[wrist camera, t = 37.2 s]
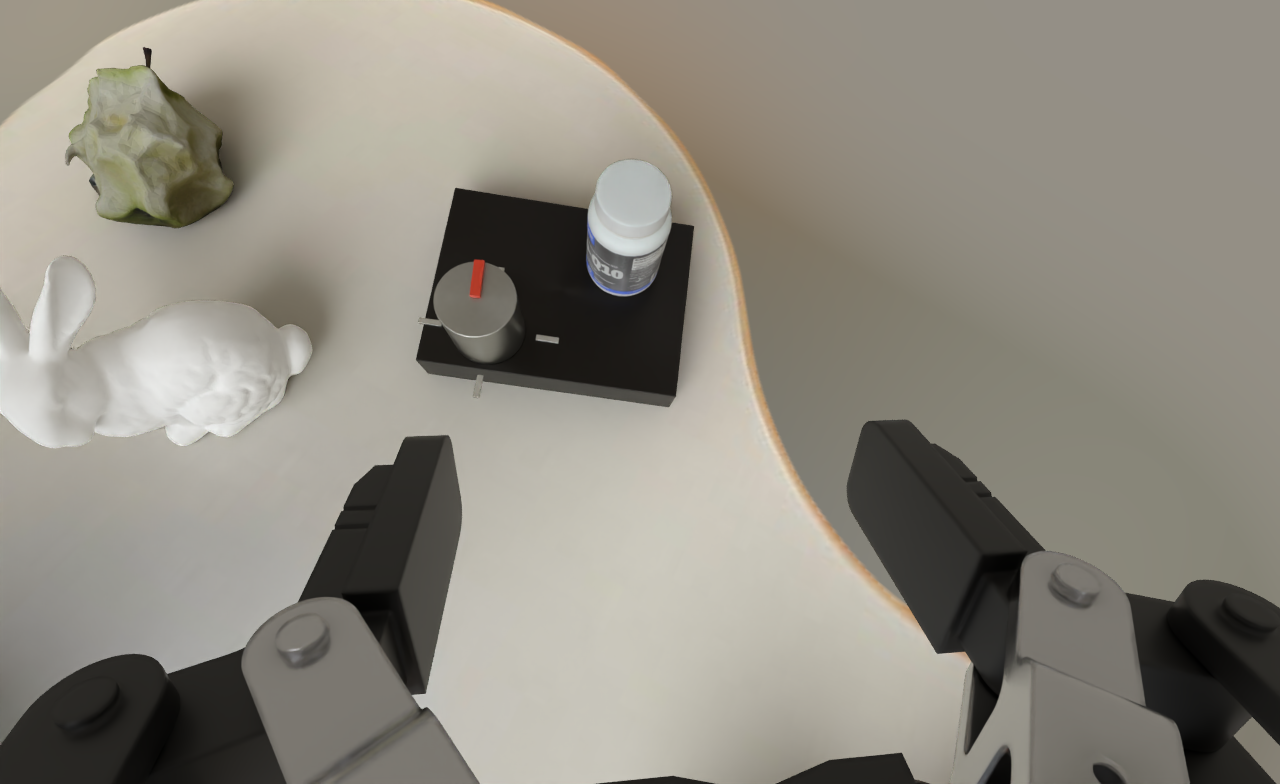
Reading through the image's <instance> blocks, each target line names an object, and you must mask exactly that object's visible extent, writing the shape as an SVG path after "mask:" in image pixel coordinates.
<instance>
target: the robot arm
mask: <svg viewBox="0 0 1280 784" xmlns="http://www.w3.org/2000/svg"><path fill="white" fill-rule="evenodd" d="M847 498H848V503H849V507H850V509H851V512H852V514H853V515H854V517H855V519H856V520H857V522H858V524H859V525H860V527H861V529H862V530H863V532H864V534H865V535H866V537H867V538H868V540H869V542H870V543H871V545H872V547H873V548H874V550H875V552H876V553H877V555H878V557H879V558H880V560H881V562H882V563H883V565H884V567H885V568H886V570H887V572H888V573H889V575H890V577H891V578H892V580H893V582H894V583H895V585H896V587H897V588H898V590H899V592H900V593H901V595H902V596H903V598H904V600H905V601H906V603H907V605H908V606H909V608H910V610H911V611H912V613H913V615H914V616H915V618H916V620H917V621H918V623H919V625H920V626H921V628H922V630H923V631H924V633H925V635H926V636H927V638H928V640H929V641H930V643H931V645H932V646H933V648H934V649H935V651H936V653H937V654H941V653H953V652H966V654H967V655H968V657H969V658H970V660H971V663H970V665H969V667H968V669H967V671H966V675H965V682H964V689H963V697H962V705H961V712H960V720H959V727H958V735H957V743H956V750H955V758H954V765H953V770H952V774H951V778H950V781H949V784H1276V783H1275V782H1274V781H1273V780H1272V779H1271V777H1270V776H1269V775H1268V774H1267V773H1266V772H1265V771H1264V770H1263V769H1262V768H1261V766H1260V765H1259V764H1258V763H1257V762H1256V761H1255V760H1254V759H1253V758H1252V756H1251V755H1250V754H1249V753H1248V752H1247V751H1246V750H1245V749H1244V748H1243V746H1242V745H1241V744H1240V743H1239V742H1238V741H1237V740H1236V739H1235V737H1234V734H1236V732H1237V731H1238V730H1239V729H1240V728H1241V727H1242V726H1243V725H1244V724H1245V723H1246V722H1247V721H1248V720H1249V719H1250V718H1251V717H1253V718H1254V719H1255V720H1256V721H1257V722H1258V723H1259V724H1260V725H1261V726H1262V727H1263V728H1264V729H1265V730H1266V732H1267V733H1268V734H1269V735H1270V736H1271V737H1272V738H1273V739H1274V740H1275V741H1276V742H1277V743H1278V744H1279V745H1280V608H1279V607H1277V606H1276V605H1274V604H1272V603H1271V602H1269V601H1267V600H1266V599H1264V598H1262V597H1260V596H1258V595H1256V594H1254V593H1252V592H1250V591H1247V590H1245V589H1243V588H1240V587H1237V586H1234V585H1231V584H1228V583H1224V582H1220V581H1214V580H1196V581H1194V582H1191V583H1189V584H1188V585H1187V586H1186V587H1185V589H1184V590H1183V591H1182V593H1181V594H1180V595H1179V597H1178V598H1177V599H1176V601H1175V602H1171V601H1166V600H1161V599H1156V598H1150V597H1145V596H1140V595H1134V594H1129V593H1125V592H1124V591H1123V590H1122V589H1121V587H1120V586H1119V585H1118V584H1117V583H1116V582H1115V581H1114V580H1113V579H1111V578H1110V577H1109V576H1108V575H1107V574H1105V573H1104V572H1102V571H1101V570H1100V569H1098V568H1096V567H1095V566H1093V565H1091V564H1089V563H1087V562H1085V561H1083V560H1081V559H1078V558H1076V557H1073V556H1070V555H1067V554H1063V553H1059V552H1052V551H1045V549H1044V548H1043V547H1042V546H1041V545H1040V544H1039V543H1038V542H1037V541H1036V540H1035V539H1034V538H1033V537H1032V536H1031V535H1030V533H1029V532H1028V531H1027V530H1026V529H1025V528H1024V527H1023V526H1022V525H1021V524H1020V523H1019V522H1018V521H1017V520H1016V519H1015V517H1013V515H1012V514H1011V513H1010V512H1009V511H1008V510H1007V509H1006V508H1005V507H1004V506H1003V505H1002V504H1001V503H1000V502H999V500H998V499H996V498H995V497H992V496H991V492H990V491H989V490H988V489H987V488H986V487H985V486H984V485H983V484H982V482H981V481H977V477H976V476H975V475H974V474H973V473H972V472H971V471H970V470H969V469H968V467H966V465H965V464H964V463H963V462H962V461H961V460H960V459H959V458H957V457H955V456H953V455H952V454H951V453H949V452H948V451H946V450H944V449H943V448H941V447H939V446H938V445H936V444H930V442H929V441H928V440H927V439H926V438H925V437H924V436H923V435H922V434H921V432H920V431H919V430H918V429H917V428H916V427H915V426H914V425H913V424H912V423H911V422H910V421H908V420H883V421H868V422H867V423H865V425H864V426H863V428H862V430H861V434H860V437H859V442H858V445H857V448H856V452H855V456H854V460H853V463H852V467H851V471H850V474H849V478H848V482H847ZM461 523H462V504H461V496H460V490H459V484H458V478H457V472H456V466H455V460H454V454H453V448H452V443H451V439H450V437H449V436H448V435H441V436H414V437H405V439H404V440H403V442H402V445H401V447H400V450H399V452H398V454H397V457H396V459H395V462H394V464H393V465H375V466H374V467H373V468H372V469H371V470H370V471H369V472H367V473H366V474H365V475H364V476H363V477H362V478H361V479H360V480H359V481H358V482H357V483H355V484H354V486H353V488H352V490H351V492H350V494H349V496H348V498H347V501H346V503H345V505H344V510H343V511H341V513H340V515H339V517H338V519H337V521H336V524H335V530H332V532H331V534H330V536H329V538H328V540H327V542H326V544H325V547H324V549H323V551H322V553H321V555H320V557H319V559H318V561H317V563H316V565H315V567H314V570H313V572H312V574H311V576H310V578H309V580H308V582H307V584H306V586H305V588H304V591H303V593H302V595H301V597H300V599H299V601H298V603H296V604H293V605H291V606H289V607H287V608H285V609H283V610H281V611H280V612H278V613H276V614H275V615H274V616H272V617H271V618H269V619H268V620H267V621H266V622H265V623H264V624H262V625H261V626H260V627H259V628H258V630H257V631H256V632H255V633H254V634H253V636H252V637H251V638H250V640H249V641H248V643H247V645H246V647H245V648H243V649H241V650H239V651H236V652H233V653H231V654H228V655H225V656H222V657H219V658H216V659H212V660H209V661H206V662H203V663H200V664H197V665H194V666H191V667H188V668H185V669H181V670H178V671H175V672H172V673H169V674H167V673H166V672H165V670H164V669H163V667H162V666H161V664H160V663H159V662H158V661H157V660H155V659H154V658H152V657H149V656H146V655H141V654H125V655H120V656H114V657H111V658H107V659H104V660H101V661H98V662H96V663H93V664H90V665H88V666H86V667H84V668H82V669H80V670H78V671H76V672H74V673H73V674H71V675H69V676H67V677H66V678H64V679H63V680H61V681H60V682H58V683H57V684H55V685H54V686H53V687H51V688H50V689H49V690H48V691H46V692H45V693H44V694H43V695H42V696H40V697H39V698H38V699H37V700H36V701H35V702H34V703H33V704H32V705H31V706H30V707H29V708H28V710H27V711H26V712H25V713H24V714H23V716H22V717H21V718H20V720H19V721H18V722H17V724H16V725H15V726H14V728H13V729H12V730H11V732H10V733H9V734H8V736H7V737H6V739H5V740H4V741H3V743H2V744H1V745H0V784H480V783H479V782H478V780H477V779H476V777H475V775H474V774H473V772H472V771H471V769H470V768H469V766H468V765H467V763H466V762H465V760H464V759H463V757H462V755H461V754H460V752H459V751H458V749H457V748H456V746H455V745H454V743H453V742H452V740H451V738H450V737H449V735H448V734H447V732H446V731H445V729H444V728H443V726H442V725H441V723H440V722H439V720H438V719H437V718H436V716H435V715H434V714H433V712H432V711H431V710H430V709H429V708H427V707H426V708H424V709H421V708H420V707H419V706H418V704H417V703H416V701H415V700H414V698H413V697H412V695H415V694H426V690H427V685H428V680H429V676H430V671H431V667H432V662H433V657H434V653H435V648H436V643H437V639H438V634H439V629H440V625H441V620H442V615H443V611H444V606H445V602H446V597H447V592H448V588H449V583H450V578H451V574H452V569H453V564H454V560H455V555H456V550H457V546H458V541H459V537H460V531H461ZM598 784H714V783H709V782H703V781H698V780H692V779H687V778H681V777H676V776H668V777H658V778H648V779H638V780H628V781H618V782H608V783H598ZM776 784H929V783H926V782H923V781H919V780H914V778H913V775H912V773H911V771H910V769H909V767H908V765H907V763H906V761H905V758H904V756H903V754H902V753H895V754H885V755H875V756H866V757H856V758H846V759H836V760H829V761H826V762H824V763H822V764H820V765H817V766H815V767H813V768H810V769H808V770H806V771H804V772H801V773H799V774H797V775H795V776H792V777H790V778H788V779H786V780H783V781H781V782H779V783H776Z"/></svg>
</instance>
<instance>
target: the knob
mask: <svg viewBox="0 0 1280 784" xmlns="http://www.w3.org/2000/svg"><path fill="white" fill-rule="evenodd" d="M433 302H434V309H435V312H436V315H437V317H438V319H439V321H440V322H441V324H442V325H443V327H444V328H445V330H446V331H447V333H448V335H449V336H450V338H451V339H452V341H453V342H454V344H455V345H456V347H457V349H458V350H459V351H460V352H461V353H462V354H463V356H465V357H466V358H467V359H469V360H471V361H473V362H476V363H479V364H497V363H500V362H503V361H505V360H507V359H509V358H510V357H512V356H513V355H514V354H515V353H516V352H517V351H518V350H519V348H520V347H521V345H522V343H523V340H524V337H525V323H524V319H523V315H522V311H521V308H520V304H519V300H518V296H517V292H516V288H515V286H514V283H513V282H512V280H511V279H510V277H509V276H508V275H507V274H506V273H505V272H504V271H503V270H501V269H500V268H498V267H496V266H494V265H492V264H488V263H485V261H484V260H476V259H474V262H468V263H464V264H461V265H458V266H456V267H454V268H452V269H451V270H449V271H448V272H447V273H446V274H445V275H444V276H443V277H442V278H441V280H440V281H439V283H438V285H437V287H436V289H435V293H434V300H433Z"/></svg>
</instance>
